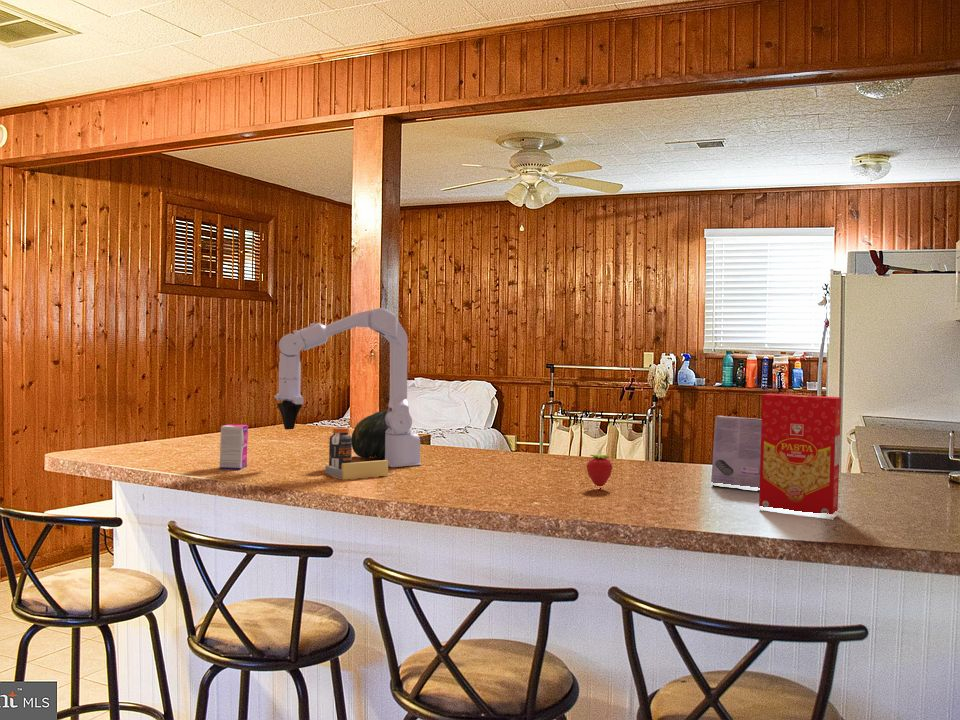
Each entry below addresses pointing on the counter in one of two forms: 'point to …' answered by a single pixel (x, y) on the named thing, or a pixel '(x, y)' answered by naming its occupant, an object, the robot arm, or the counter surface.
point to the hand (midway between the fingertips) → (289, 429)
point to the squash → (370, 436)
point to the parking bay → (359, 470)
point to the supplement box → (233, 447)
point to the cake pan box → (737, 451)
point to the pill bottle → (340, 447)
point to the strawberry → (599, 469)
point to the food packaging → (800, 452)
